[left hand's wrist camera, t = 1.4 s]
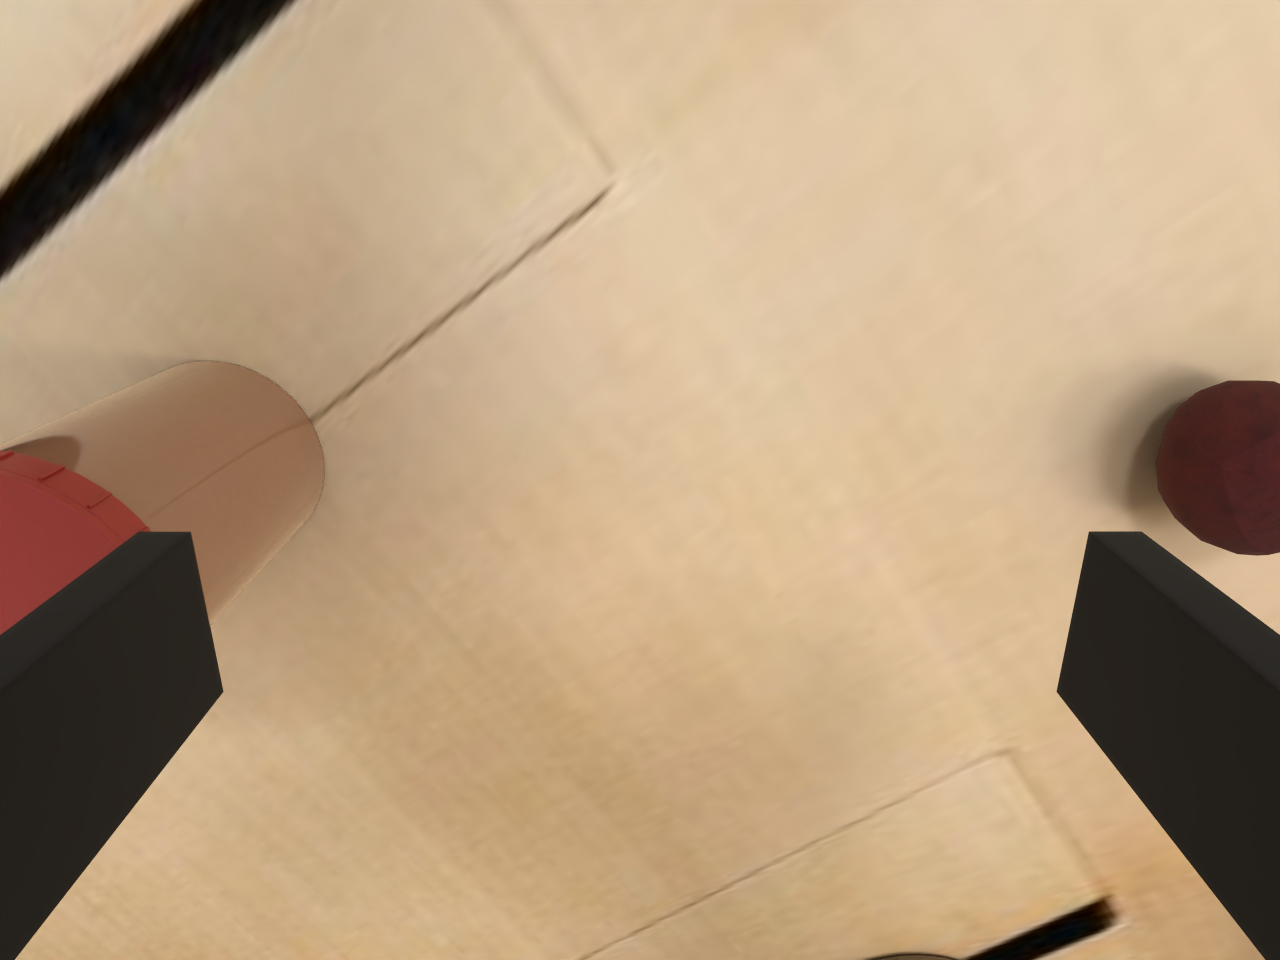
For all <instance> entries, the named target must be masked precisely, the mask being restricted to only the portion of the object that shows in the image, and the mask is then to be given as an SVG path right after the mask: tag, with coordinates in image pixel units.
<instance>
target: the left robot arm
mask: <svg viewBox="0 0 1280 960" xmlns="http://www.w3.org/2000/svg"><path fill="white" fill-rule="evenodd" d="M222 693H223V688H222V683H221V678H220V673H219V668H218V663H217V658H216V653H215V648H214V643H213V638H212V633H211V628H210V623H209V618H208V613H207V609H206V604H205V599H204V594H203V589H202V584H201V579H200V574H199V569H198V564H197V559H196V554H195V549H194V544H193V539H192V534H191V532H137V533H136V534H135V535H133V536H132V537H131V538H129V539H128V540H127V541H125V542H124V543H123V544H121V545H120V546H119V547H117V548H116V549H115V550H113V551H112V552H111V553H109V554H108V555H107V556H105V557H104V558H103V559H101V560H100V561H99V562H97V563H96V564H95V565H93V566H92V567H91V568H89V569H88V570H87V571H85V572H84V573H83V574H81V575H80V576H79V577H77V578H76V579H75V580H73V581H72V582H71V583H69V584H68V585H66V586H65V587H64V588H62V589H61V590H60V591H58V592H57V593H56V594H54V595H53V596H52V597H50V598H49V599H48V600H46V601H45V602H44V603H42V604H41V605H40V606H38V607H37V608H36V609H34V610H33V611H32V612H30V613H29V614H28V615H26V616H25V617H24V618H22V619H21V620H20V621H18V622H17V623H16V624H14V625H13V626H12V627H10V628H9V629H8V630H6V631H5V632H4V633H2V634H1V635H0V960H15V959H16V957H17V956H18V955H19V953H20V952H21V951H22V950H23V948H24V947H25V946H26V944H27V943H28V942H29V941H30V939H31V938H32V937H33V935H34V934H35V933H36V932H37V930H38V929H39V928H40V926H41V925H42V924H43V923H44V921H45V920H46V919H47V917H48V916H49V915H50V914H51V912H52V911H53V910H54V908H55V907H56V906H57V905H58V903H59V902H60V901H61V899H62V898H63V897H64V896H65V894H66V893H67V892H68V890H69V889H70V888H71V887H72V885H73V884H74V883H75V881H76V880H77V879H78V878H79V876H80V875H81V874H82V872H83V871H84V870H85V869H86V867H87V866H88V865H89V864H90V862H91V861H92V860H93V858H94V857H95V856H96V855H97V853H98V852H99V851H100V849H101V848H102V847H103V846H104V844H105V843H106V842H107V840H108V839H109V838H110V837H111V835H112V834H113V833H114V831H115V830H116V829H117V828H118V826H119V825H120V824H121V822H122V821H123V820H124V819H125V817H126V816H127V815H128V813H129V812H130V811H131V810H132V808H133V807H134V806H135V804H136V803H137V802H138V801H139V799H140V798H141V797H142V795H143V794H144V793H145V792H146V790H147V789H148V788H149V786H150V785H151V784H152V783H153V781H154V780H155V779H156V777H157V776H158V775H159V774H160V772H161V771H162V770H163V769H164V767H165V766H166V765H167V763H168V762H169V761H170V760H171V758H172V757H173V756H174V754H175V753H176V752H177V751H178V749H179V748H180V747H181V745H182V744H183V743H184V742H185V740H186V739H187V738H188V736H189V735H190V734H191V733H192V731H193V730H194V729H195V727H196V726H197V725H198V724H199V722H200V721H201V720H202V718H203V717H204V716H205V715H206V713H207V712H208V711H209V709H210V708H211V707H212V706H213V704H214V703H215V702H216V700H217V699H218V698H219V697H220V695H221V694H222ZM1057 693H1058V694H1059V695H1060V697H1061V698H1062V699H1063V700H1064V702H1065V703H1066V704H1067V706H1068V707H1069V708H1070V709H1071V711H1072V712H1073V713H1074V715H1075V716H1076V717H1077V718H1078V720H1079V721H1080V722H1081V724H1082V725H1083V726H1084V727H1085V729H1086V730H1087V731H1088V733H1089V734H1090V735H1091V736H1092V738H1093V739H1094V740H1095V742H1096V743H1097V744H1098V745H1099V747H1100V748H1101V749H1102V751H1103V752H1104V753H1105V754H1106V756H1107V757H1108V758H1109V760H1110V761H1111V762H1112V763H1113V765H1114V766H1115V767H1116V769H1117V770H1118V771H1119V772H1120V774H1121V775H1122V776H1123V777H1124V779H1125V780H1126V781H1127V783H1128V784H1129V785H1130V786H1131V788H1132V789H1133V790H1134V792H1135V793H1136V794H1137V795H1138V797H1139V798H1140V799H1141V801H1142V802H1143V803H1144V804H1145V806H1146V807H1147V808H1148V810H1149V811H1150V812H1151V813H1152V815H1153V816H1154V817H1155V819H1156V820H1157V821H1158V822H1159V824H1160V825H1161V826H1162V828H1163V829H1164V830H1165V831H1166V833H1167V834H1168V835H1169V837H1170V838H1171V839H1172V840H1173V842H1174V843H1175V844H1176V846H1177V847H1178V848H1179V849H1180V851H1181V852H1182V853H1183V855H1184V856H1185V857H1186V858H1187V860H1188V861H1189V862H1190V864H1191V865H1192V866H1193V867H1194V869H1195V870H1196V871H1197V872H1198V874H1199V875H1200V876H1201V878H1202V879H1203V880H1204V881H1205V883H1206V884H1207V885H1208V887H1209V888H1210V889H1211V890H1212V892H1213V893H1214V894H1215V896H1216V897H1217V898H1218V899H1219V901H1220V902H1221V903H1222V905H1223V906H1224V907H1225V908H1226V910H1227V911H1228V912H1229V914H1230V915H1231V916H1232V917H1233V919H1234V920H1235V921H1236V923H1237V924H1238V925H1239V926H1240V928H1241V929H1242V930H1243V932H1244V933H1245V934H1246V935H1247V937H1248V938H1249V939H1250V941H1251V942H1252V943H1253V944H1254V946H1255V947H1256V948H1257V950H1258V951H1259V952H1260V953H1261V955H1262V956H1263V957H1264V959H1265V960H1280V635H1279V634H1278V633H1276V632H1275V631H1274V630H1272V629H1271V628H1270V627H1268V626H1267V625H1266V624H1264V623H1263V622H1262V621H1260V620H1259V619H1258V618H1256V617H1255V616H1254V615H1252V614H1251V613H1250V612H1248V611H1247V610H1246V609H1244V608H1243V607H1242V606H1240V605H1239V604H1238V603H1236V602H1235V601H1234V600H1232V599H1231V598H1230V597H1228V596H1227V595H1226V594H1224V593H1223V592H1222V591H1220V590H1219V589H1218V588H1216V587H1215V586H1214V585H1212V584H1211V583H1209V582H1208V581H1207V580H1205V579H1204V578H1203V577H1201V576H1200V575H1199V574H1197V573H1196V572H1195V571H1193V570H1192V569H1191V568H1189V567H1188V566H1187V565H1185V564H1184V563H1183V562H1181V561H1180V560H1179V559H1177V558H1176V557H1175V556H1173V555H1172V554H1171V553H1169V552H1168V551H1167V550H1165V549H1164V548H1163V547H1161V546H1160V545H1159V544H1157V543H1156V542H1155V541H1153V540H1152V539H1151V538H1149V537H1148V536H1147V535H1145V534H1144V533H1143V532H1089V534H1088V539H1087V544H1086V549H1085V554H1084V559H1083V564H1082V569H1081V574H1080V579H1079V584H1078V589H1077V594H1076V599H1075V604H1074V609H1073V613H1072V618H1071V623H1070V628H1069V633H1068V638H1067V643H1066V648H1065V653H1064V658H1063V663H1062V668H1061V673H1060V678H1059V683H1058V688H1057Z"/></svg>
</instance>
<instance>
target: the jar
mask: <svg viewBox="0 0 1280 960" xmlns="http://www.w3.org/2000/svg"><path fill="white" fill-rule="evenodd" d="M9 450H13V451H14V452H15V453H19V454H23V455H28V456H32V457H37V458H40V459H43V460H46V461H49V462H51V463H54V464H57V465H60V466H61V465H64V466H65V468H67V469H69V470H71V471H73V472H75V473H77V474H80V475H82V476H84V477H85V478H87V479H89V480H90V481H92V482H94V483H95V484H97V485H99V486H100V487H102V488H104V489H105V490H106V491H108V492H109V491H110V492H111V493H112V495H113V496H114V497H116V498H117V499H118V500H120V501H121V502H122V503H124V504H125V505H126V506H127V507H128V508H129V509H130V510H131V511H132V512H133V513H134V514H135V515H136V516H138V517H139V518H140V519H141V520H142V522H143V523H144V524H145V525H146V526H147V527H149V528H150V531H151V532H191V534H192V539H193V544H194V549H195V554H196V559H197V564H198V569H199V574H200V579H201V584H202V589H203V594H204V599H205V604H206V609H207V613H208V618H209V623H210V625H211V624H212V623H213V622H214V621H215V620H216V619H217V617H218V616H219V615H220V614H221V613H222V612H223V611H224V610H225V609H226V608H227V607H228V605H229V604H230V603H231V602H232V601H233V600H234V599H235V598H236V597H237V596H238V595H239V593H240V592H241V591H242V590H243V589H244V588H245V587H246V586H247V585H248V584H249V583H250V581H251V580H252V579H253V578H254V577H255V576H256V575H257V574H258V573H259V572H260V571H261V569H262V568H263V567H264V566H265V565H266V564H267V563H268V562H269V561H270V560H271V559H272V557H273V556H274V555H275V554H276V553H277V552H278V551H279V550H280V549H281V548H282V547H283V546H284V544H285V543H286V542H287V541H288V540H289V539H290V538H291V537H292V536H293V535H294V534H295V532H296V531H297V530H298V529H299V528H300V527H301V526H302V525H303V524H304V523H305V521H306V520H307V519H308V518H309V517H310V515H311V514H312V512H313V511H314V509H315V507H316V505H317V503H318V501H319V499H320V495H321V492H322V488H323V482H324V459H323V452H322V448H321V445H320V442H319V438H318V436H317V434H316V431H315V429H314V427H313V425H312V423H311V422H310V420H309V418H308V417H307V415H306V414H305V412H304V411H303V410H302V408H301V407H300V406H299V404H298V403H297V402H296V401H295V400H294V399H293V398H292V397H291V396H290V395H289V394H288V393H287V392H285V391H284V390H283V389H282V388H281V387H279V386H278V385H277V384H275V383H274V382H272V381H271V380H269V379H268V378H266V377H264V376H262V375H260V374H258V373H256V372H254V371H252V370H249V369H247V368H244V367H241V366H238V365H234V364H230V363H225V362H216V361H196V362H190V363H184V364H181V365H177V366H174V367H171V368H169V369H167V370H165V371H162V372H160V373H158V374H156V375H154V376H151V377H149V378H147V379H145V380H142V381H140V382H138V383H136V384H134V385H131V386H129V387H127V388H125V389H122V390H120V391H118V392H116V393H114V394H111V395H109V396H107V397H105V398H102V399H100V400H98V401H96V402H94V403H91V404H89V405H87V406H85V407H82V408H80V409H78V410H76V411H74V412H71V413H69V414H67V415H65V416H62V417H60V418H58V419H56V420H54V421H51V422H49V423H47V424H45V425H42V426H40V427H38V428H36V429H34V430H31V431H29V432H27V433H25V434H22V435H20V436H18V437H16V438H14V439H11V440H9V441H7V442H5V443H2V444H0V451H6V452H7V451H9Z"/></svg>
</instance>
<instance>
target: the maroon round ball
mask: <svg viewBox="0 0 1280 960" xmlns="http://www.w3.org/2000/svg"><path fill="white" fill-rule="evenodd" d="M1156 467H1157V480H1158V490H1159V492H1160V494H1161V496H1162V498H1163V500H1164V502H1165V503H1166V505H1167V506H1168V508H1169V509H1170V511H1171V513H1172V514H1173V516H1174V517H1175V518H1176V519H1177V520H1178V521H1179V522H1180V523H1181V524H1182V525H1183V526H1184V527H1185V528H1187V529H1188V530H1189V531H1190V532H1191V533H1193V534H1194V535H1195V536H1196V537H1197V538H1199V539H1200V540H1201V541H1204V542H1206V543H1209V544H1212V545H1214V546H1217V547H1220V548H1222V549H1225V550H1228V551H1231V552H1233V553H1236V554H1244V555H1270V554H1274V553H1279V552H1280V384H1279V383H1276V382H1274V381H1226V382H1223V383H1221V384H1218V385H1215V386H1212V387H1209V388H1206V389H1204V390H1201V391H1199V392H1197V393H1195V394H1194V395H1193V396H1192V397H1191V398H1189V399H1188V400H1187V401H1186V402H1185V403H1183V404H1182V405H1181V406H1180V407H1178V409H1177V410H1176V412H1175V413H1174V415H1173V416H1172V418H1171V419H1170V421H1169V422H1168V424H1167V426H1166V428H1165V431H1164V435H1163V438H1162V442H1161V445H1160V449H1159V452H1158V456H1157V460H1156Z"/></svg>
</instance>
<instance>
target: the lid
mask: <svg viewBox="0 0 1280 960" xmlns="http://www.w3.org/2000/svg"><path fill="white" fill-rule="evenodd" d="M137 532H151V531H150V528H149V527H147V526H146V525H145V524H144V523H143V522H142V520H141V519H140V518H139V517H138V516H136V515H135V514H134V513H133V512H132V511H131V510H130V509H129V508H128V507H127V506H126V505H125V504H124V503H122V502H121V501H120V500H118V499H117V498H116V497H114V496H113V495H112V493H111V492H110V491H109V492H108V491H106V490H105V489H104V488H102V487H100V486H99V485H97V484H95V483H94V482H92V481H90V480H89V479H87V478H85V477H84V476H82V475H80V474H77V473H75V472H73V471H71V470H69V469H67V468H65V466H64V465H61V466H60V465H57V464H54V463H51V462H49V461H46V460H43V459H40V458H37V457H32V456H28V455H23V454H19V453H15V452H14V451H13V450H9V451H7V452H6V451H0V635H1V634H2V633H4V632H5V631H6V630H8V629H9V628H10V627H12V626H13V625H14V624H16V623H17V622H18V621H20V620H21V619H22V618H24V617H25V616H26V615H28V614H29V613H30V612H32V611H33V610H34V609H36V608H37V607H38V606H40V605H41V604H42V603H44V602H45V601H46V600H48V599H49V598H50V597H52V596H53V595H54V594H56V593H57V592H58V591H60V590H61V589H62V588H64V587H65V586H66V585H68V584H69V583H71V582H72V581H73V580H75V579H76V578H77V577H79V576H80V575H81V574H83V573H84V572H85V571H87V570H88V569H89V568H91V567H92V566H93V565H95V564H96V563H97V562H99V561H100V560H101V559H103V558H104V557H105V556H107V555H108V554H109V553H111V552H112V551H113V550H115V549H116V548H117V547H119V546H120V545H121V544H123V543H124V542H125V541H127V540H128V539H129V538H131V537H132V536H133V535H135V534H136V533H137Z"/></svg>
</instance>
